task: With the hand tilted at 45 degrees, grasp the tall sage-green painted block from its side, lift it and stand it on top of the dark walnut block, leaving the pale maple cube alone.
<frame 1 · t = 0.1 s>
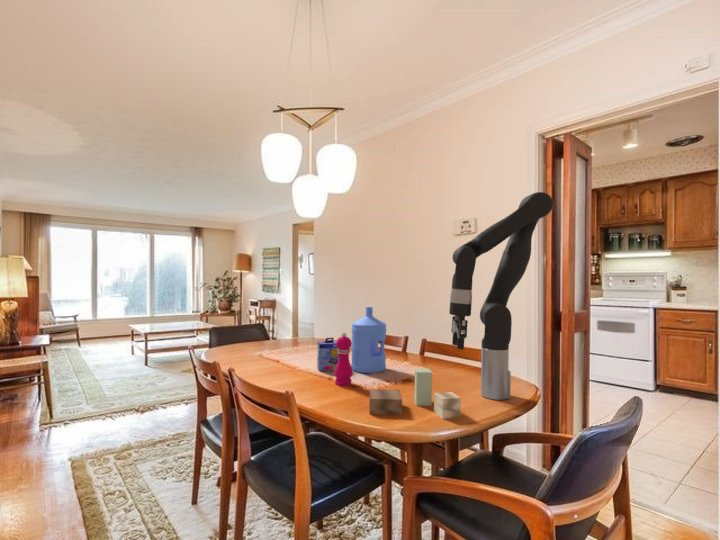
hand: (457, 347, 137), 17 cm above the table, tool pointing down, fingers open, 8 cm apart
maple cube: (447, 414, 119), on the table
walnut block: (385, 409, 123), on the table
pepper mill: (343, 384, 150), on the table
sage block: (422, 403, 129), on the table
water jug: (368, 369, 173), on the table
ink cartridge box: (328, 369, 172), on the table
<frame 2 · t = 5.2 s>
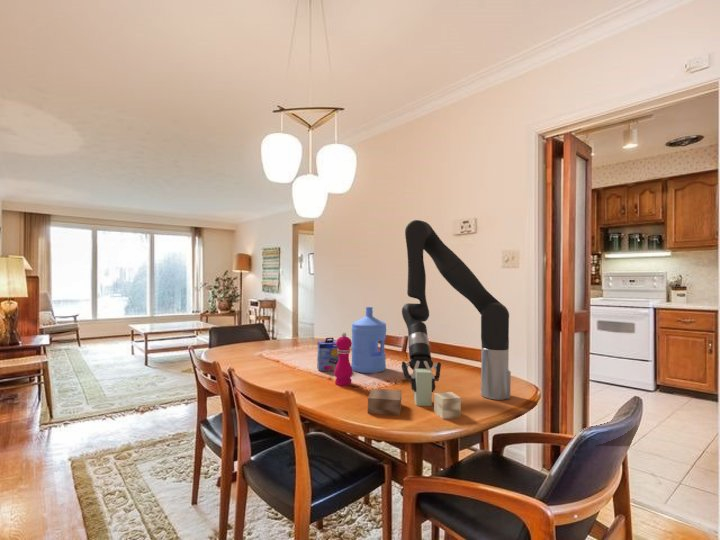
hand: (423, 390, 127), 5 cm above the table, tool tilted 45°, fingers closed on sage block, 5 cm apart
sage block: (422, 403, 129), on the table, touching gripper
everything else where it was.
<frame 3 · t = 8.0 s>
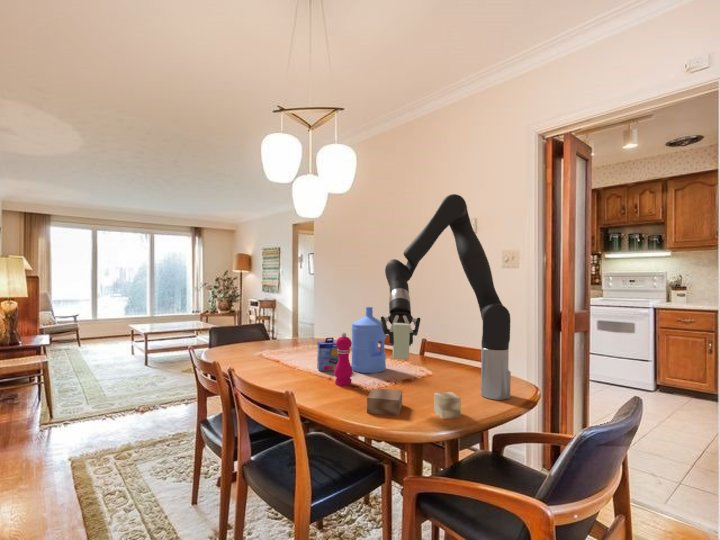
hand: (401, 344, 124), 21 cm above the table, tool tilted 45°, fingers closed on sage block, 5 cm apart
sage block: (400, 357, 126), point 16 cm above the table, touching gripper
everything else where it was.
when the fingers open (11 cm above the table, at t = 10.6 s): sage block drops 2 cm, resting on walnut block.
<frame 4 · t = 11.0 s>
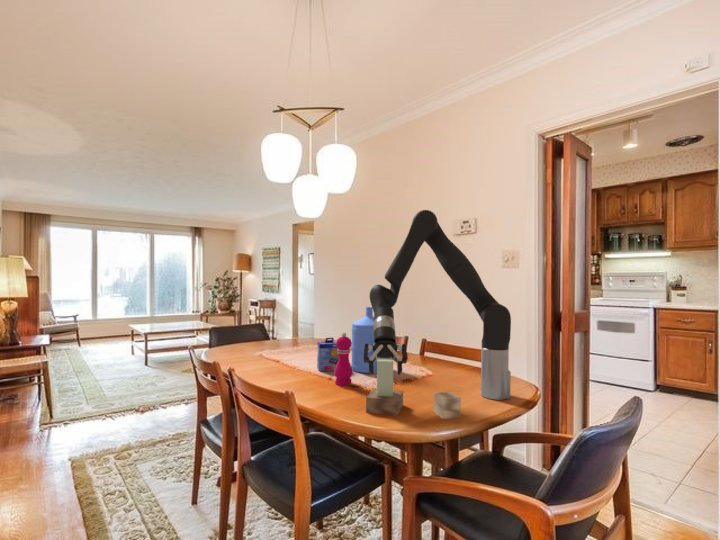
hand: (385, 373, 122), 12 cm above the table, tool tilted 45°, fingers open, 8 cm apart
walnut block: (385, 409, 123), on the table, touching sage block
sage block: (384, 393, 123), point 5 cm above the table, touching walnut block
everything else where it was.
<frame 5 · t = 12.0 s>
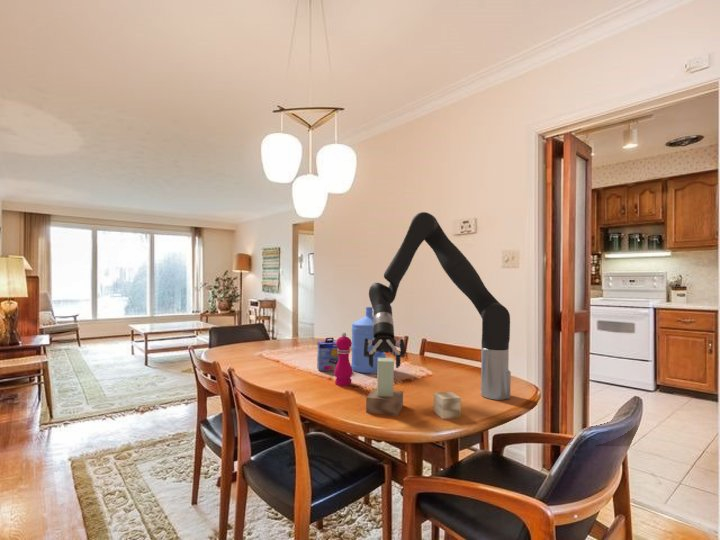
hand: (384, 366, 128), 12 cm above the table, tool tilted 45°, fingers open, 8 cm apart
nothing on the table moved.
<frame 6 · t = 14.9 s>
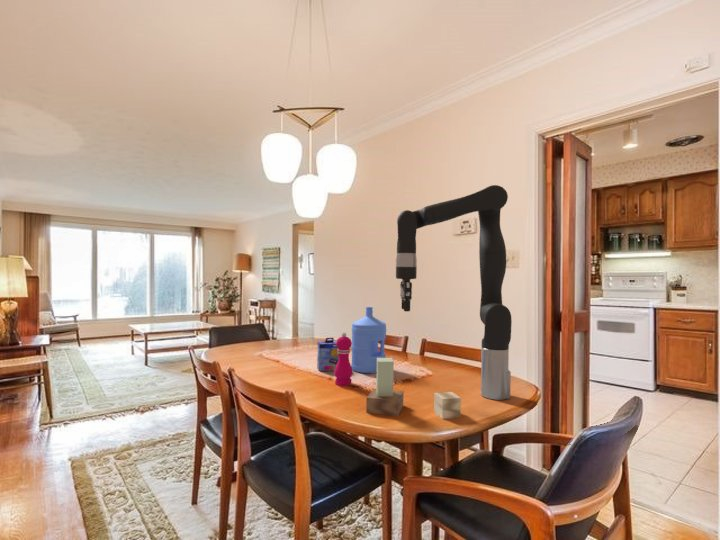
hand: (405, 310, 140), 30 cm above the table, tool pointing down, fingers open, 8 cm apart
walnut block: (385, 410, 123), on the table
sage block: (384, 393, 123), point 5 cm above the table
everything else where it was.
at the end: sage block inside the target area on the walnut block (0.6 cm from its centre), point 5.1 cm above the walnut block's base; sage block tilted 1°; the gripper is holding nothing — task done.
